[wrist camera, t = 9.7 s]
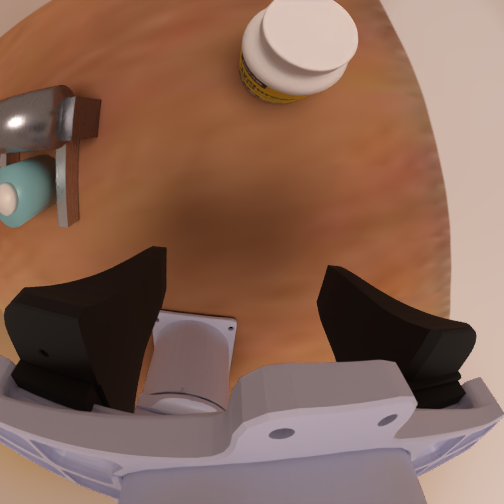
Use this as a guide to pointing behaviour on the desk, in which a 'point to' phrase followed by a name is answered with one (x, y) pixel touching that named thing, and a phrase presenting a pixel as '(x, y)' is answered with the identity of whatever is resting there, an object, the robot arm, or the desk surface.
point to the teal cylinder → (27, 189)
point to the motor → (50, 136)
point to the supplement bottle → (296, 49)
